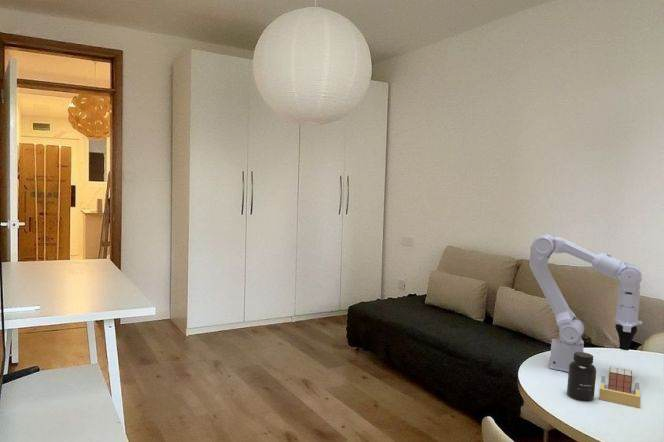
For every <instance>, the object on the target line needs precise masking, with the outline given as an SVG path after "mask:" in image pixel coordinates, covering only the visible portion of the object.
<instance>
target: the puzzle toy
mask: <svg viewBox="0 0 664 442" xmlns="http://www.w3.org/2000/svg"><path fill="white" fill-rule="evenodd" d="M632 388H633V371H632V369H629V368H627V369H626V368H623V367H621V368H620V367H616V366H609V368H608V387H607V389H610V390H615V391H620V392H625V393H630V394H632V391H633V390H632Z"/></svg>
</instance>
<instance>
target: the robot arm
mask: <svg viewBox="0 0 664 442" xmlns="http://www.w3.org/2000/svg"><path fill="white" fill-rule="evenodd" d="M530 245H531V246H530V251H529V253H530V255H529V261H528V262H529V263H528V264H529V265H528V266H529V268H530V270H531V272H532V274H533V276H534V279H535V280H536V282H537V283H538V285H539V287H540V290H541V291H542V293H543V296H544V298H545V299H546V301H547V303H548V305H549V307H550V308H551V310H552V312H553V314H554V317H555V322H556V324H557V326H558V333H559V338H552V340H551V346H550V356H549V369H551V370H557V371H561V372H567V373H568V372H569V364H570V363H571V362H572V361H574V360H573V357H574V353H575V352H584V348H585V346H584V344H585V341H584V340H583V338H582V335H584V332H585V325H584V323H583V321H582V320H580V319H579V318H577V316H576V314H575V313H574V311H572V309H570V306H569V305H568V303H567V301H566V299H565V296H564V295H563V293H562V291H561V290H560V287H559V286H558V284H557V282H556V280H555V278H554V276H553V275H552V273H551V271H550V268H549V267H548V262H549V261H550V258H551V256H552V254H553V253H554V254H562V253H563V254H569V255H571V256H573V257H575V258H577V259H580V260H582V261H584V262H587V263H590V264H591V266H592V268H593V270H595V271H597V272H599V273H601V274H603V275H605V276H607V277H609V278H612V279H614V280H615V279H616V280H618V281H619V287H618V290H617V298H616V299H617V300H616V312H615V313H616V314H615V317H614V321H615V322H616V323H615V328H614V329H615V330H616V332H617V335H618V340H619V341H618V342H619V349H620V350H621V351H629V350H630V347H631V344H632V341H633V338H634V337H635V335H636V334H637V332H638V327H637V326H638V325H640V326H641V325H643V321H641V320H639V312H640V311H639V310H640V300H641V299H640V297H641V291H640V290H641V285H640V284H641V282H642V279H643V278H642V272H641V270H640V268H639V267H637V266H636V265H634V264H631V263H629V262H628V261H626V260H624V261H622V260H619V259H618V258H615V257H614V256H612V253H609V252H608V253H604V252H601V253H598V254H597V253H594V252H592V251H590V250H588V249H586V248H584V247H582V246H580V245H579V244H577V243H574V242H572V241H570V240H568V239H566V238H563V237H560V236H555V235H554V234H552V233H543V234H541V235H539V236H537V237H536V238H534V240H533V241H532V243H531V244H530Z"/></svg>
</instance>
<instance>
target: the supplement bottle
mask: <svg viewBox="0 0 664 442" xmlns="http://www.w3.org/2000/svg"><path fill="white" fill-rule="evenodd" d="M573 360H574V361H572V362H571V363H570V364H569V372H567V373H568V375H567V385H566V393H567V395H568V396H569V397H570V398H572V399H574V400H577V401H581V402H590V401H592V400H593V401H594V398H595V392H596V391H595V390H596V378H597V368H596V367H595V365H593V364H594V356H593V354H591V353H588V352H584V351H583V352H575V353H574V357H573Z"/></svg>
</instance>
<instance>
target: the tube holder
mask: <svg viewBox="0 0 664 442" xmlns="http://www.w3.org/2000/svg"><path fill="white" fill-rule="evenodd" d="M640 389H641V388H640V382H637V381H635V382H634V389H633V390H634V393H631V394H630V393H625V392H620V391H615V390H610V389H608V388H606V375H601V377H600V386H599V394H598V396H599V397H598V399H599V400H600V399H601V401H605V400H606V402H609V401H610V402H611V403H614V404H618V405H625V406H628V407H633V408H637V409H640V407H641V391H640Z"/></svg>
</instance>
